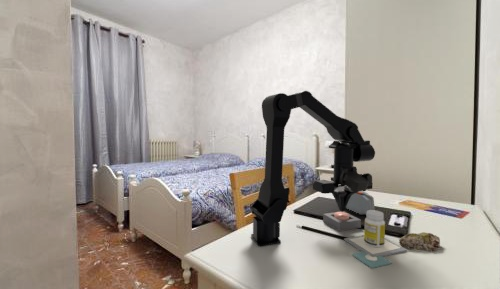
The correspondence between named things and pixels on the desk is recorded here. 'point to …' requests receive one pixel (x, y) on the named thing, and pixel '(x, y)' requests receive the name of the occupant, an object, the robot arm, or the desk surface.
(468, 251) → the desk surface
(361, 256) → the card
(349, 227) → the button housing
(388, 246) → the sketch pad
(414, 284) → the desk surface
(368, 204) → the grey rounded slab
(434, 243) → the mineral rock
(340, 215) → the button
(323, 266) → the desk surface
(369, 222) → the supplement bottle
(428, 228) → the desk surface
